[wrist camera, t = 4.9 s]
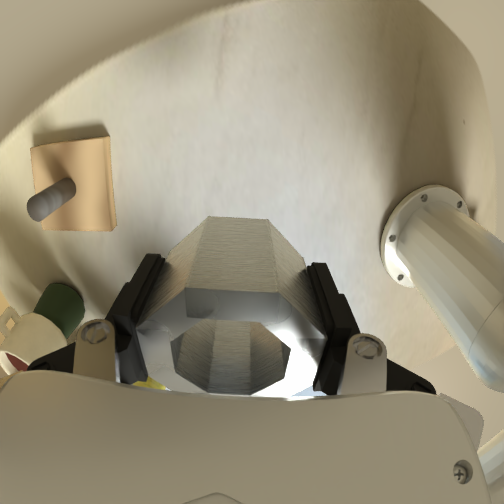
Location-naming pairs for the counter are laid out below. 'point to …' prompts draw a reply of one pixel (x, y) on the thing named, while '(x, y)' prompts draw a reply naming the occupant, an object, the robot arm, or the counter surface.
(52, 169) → the shaft stand
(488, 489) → the robot arm
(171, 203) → the counter surface
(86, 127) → the counter surface
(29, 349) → the character mug
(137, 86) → the counter surface
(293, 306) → the tube
